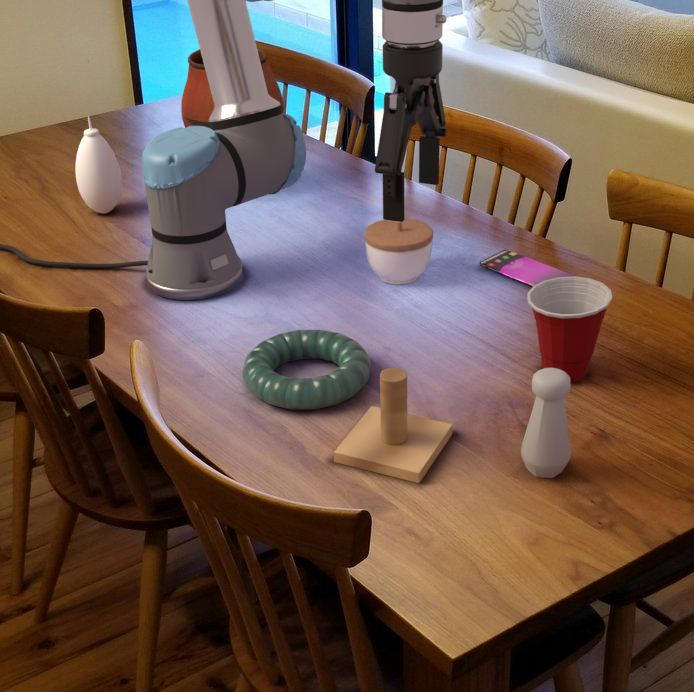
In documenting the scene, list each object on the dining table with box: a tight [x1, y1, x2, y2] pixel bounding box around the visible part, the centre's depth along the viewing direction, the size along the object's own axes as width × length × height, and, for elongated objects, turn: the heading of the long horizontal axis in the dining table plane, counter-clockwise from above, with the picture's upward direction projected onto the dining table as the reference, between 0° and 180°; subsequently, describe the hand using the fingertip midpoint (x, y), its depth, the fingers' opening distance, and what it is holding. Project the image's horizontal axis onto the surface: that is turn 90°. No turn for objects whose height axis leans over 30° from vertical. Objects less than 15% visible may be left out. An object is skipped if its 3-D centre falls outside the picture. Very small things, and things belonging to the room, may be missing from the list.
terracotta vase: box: [180, 48, 285, 129], centre depth 199 cm, size 19×19×25 cm
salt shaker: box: [520, 368, 572, 479], centre depth 123 cm, size 6×6×13 cm
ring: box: [242, 329, 371, 410], centre depth 144 cm, size 17×17×4 cm
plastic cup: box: [526, 275, 613, 384], centre depth 141 cm, size 11×11×12 cm
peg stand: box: [333, 367, 454, 484], centre depth 128 cm, size 11×11×10 cm
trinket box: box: [364, 217, 434, 286], centre depth 168 cm, size 11×11×9 cm
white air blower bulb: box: [74, 115, 123, 215], centre depth 193 cm, size 8×8×18 cm
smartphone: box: [478, 248, 578, 287], centre depth 170 cm, size 7×15×1 cm, turn 45°
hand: (411, 201), depth 145 cm, fingers open, 13 cm apart
